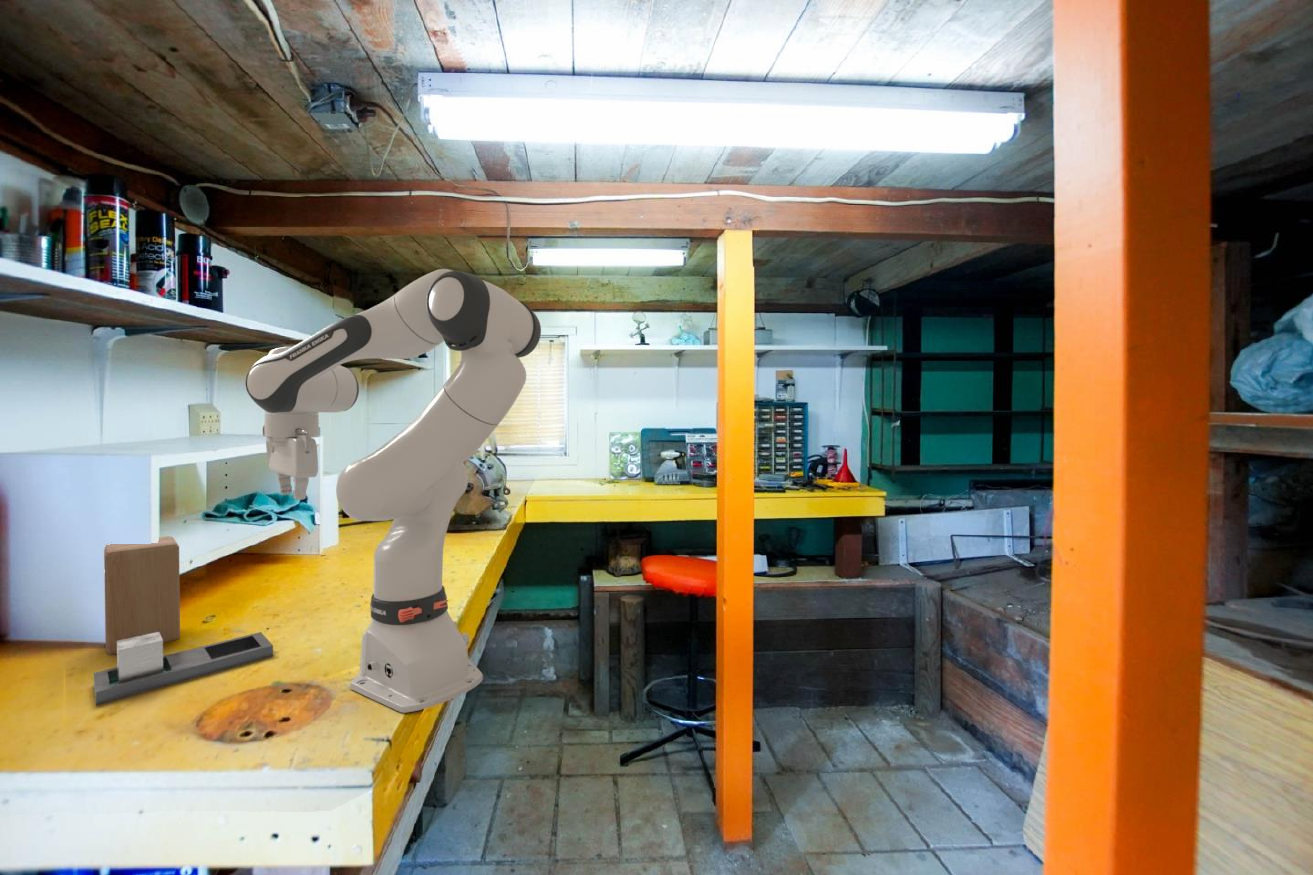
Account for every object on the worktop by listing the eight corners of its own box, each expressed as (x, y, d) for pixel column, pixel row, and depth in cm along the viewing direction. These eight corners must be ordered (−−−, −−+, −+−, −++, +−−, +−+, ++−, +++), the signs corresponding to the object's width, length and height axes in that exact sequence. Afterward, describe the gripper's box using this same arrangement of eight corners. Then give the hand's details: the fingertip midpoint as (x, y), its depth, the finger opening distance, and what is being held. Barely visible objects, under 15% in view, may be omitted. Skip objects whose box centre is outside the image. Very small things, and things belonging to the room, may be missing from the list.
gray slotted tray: (273, 659, 93) (272, 645, 93) (96, 709, 77) (95, 692, 76) (260, 644, 99) (260, 631, 99) (93, 688, 82) (93, 672, 82)
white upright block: (163, 681, 84) (162, 640, 83) (119, 693, 80) (118, 650, 80) (159, 671, 87) (159, 631, 87) (117, 682, 83) (116, 640, 83)
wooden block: (105, 642, 99) (103, 542, 99) (175, 627, 107) (174, 534, 106) (106, 658, 93) (104, 551, 92) (180, 641, 100) (179, 542, 100)
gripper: (327, 429, 97) (327, 500, 97) (296, 427, 110) (296, 490, 110) (288, 429, 92) (288, 504, 92) (260, 427, 105) (260, 493, 105)
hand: (292, 496), depth 101 cm, fingers open, 8 cm apart
